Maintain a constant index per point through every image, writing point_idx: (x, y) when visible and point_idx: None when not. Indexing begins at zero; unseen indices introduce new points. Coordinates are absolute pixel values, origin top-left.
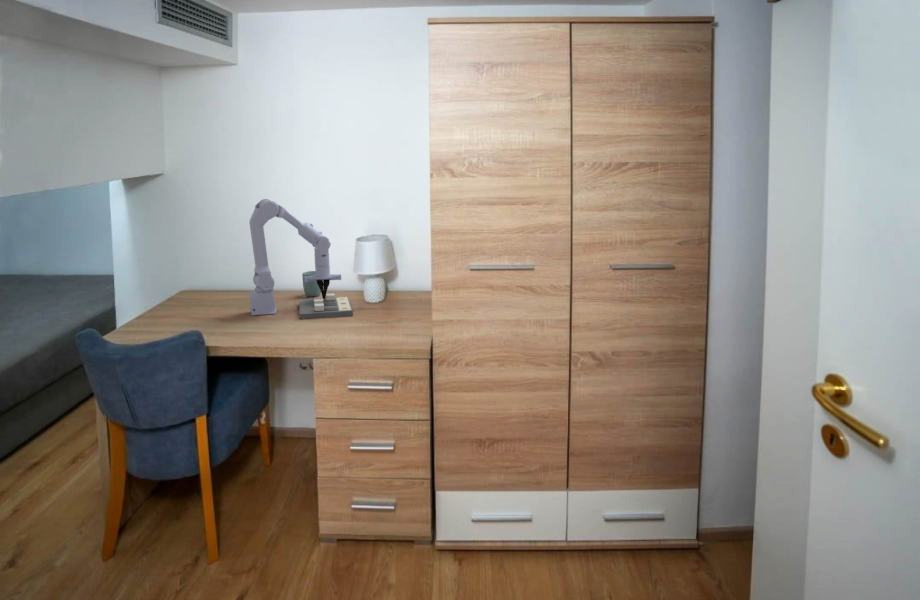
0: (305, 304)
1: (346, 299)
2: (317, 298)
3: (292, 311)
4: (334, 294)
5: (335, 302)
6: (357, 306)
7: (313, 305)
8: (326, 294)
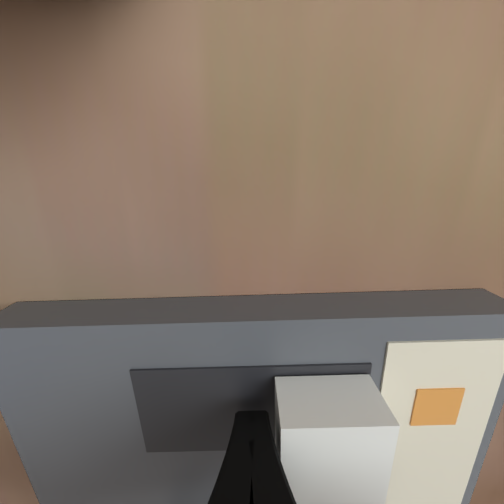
0: (91, 500)
1: (470, 430)
2: (177, 324)
3: (28, 479)
4: (386, 471)
5: None
6: (493, 447)
7: None
8: (286, 454)
